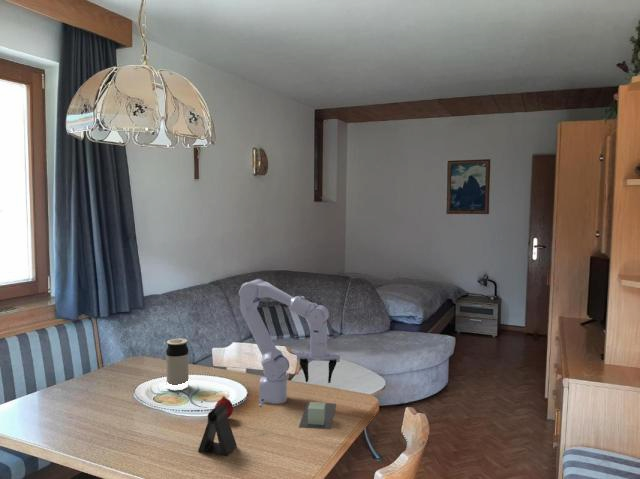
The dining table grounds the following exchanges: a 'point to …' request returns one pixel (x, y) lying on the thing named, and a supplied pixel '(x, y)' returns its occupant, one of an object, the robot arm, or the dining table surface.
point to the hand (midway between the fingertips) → (318, 381)
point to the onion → (227, 404)
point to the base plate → (328, 417)
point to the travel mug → (177, 361)
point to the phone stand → (218, 433)
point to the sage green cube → (316, 413)
